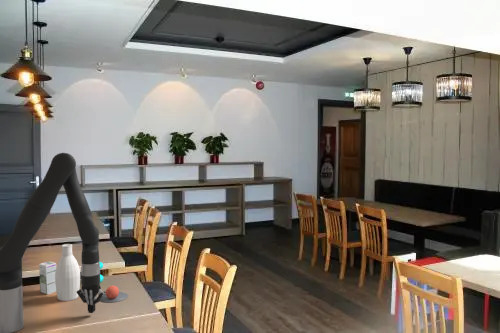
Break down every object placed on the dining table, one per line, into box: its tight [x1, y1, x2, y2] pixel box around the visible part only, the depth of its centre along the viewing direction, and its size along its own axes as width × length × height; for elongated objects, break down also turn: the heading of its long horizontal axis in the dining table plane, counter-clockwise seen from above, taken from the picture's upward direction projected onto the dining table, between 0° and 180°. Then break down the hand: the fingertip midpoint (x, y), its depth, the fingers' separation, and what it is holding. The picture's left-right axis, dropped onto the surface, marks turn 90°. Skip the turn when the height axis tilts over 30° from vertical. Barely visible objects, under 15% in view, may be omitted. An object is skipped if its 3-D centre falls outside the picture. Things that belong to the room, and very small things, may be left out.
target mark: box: [99, 291, 129, 304], centre depth 203 cm, size 13×13×1 cm
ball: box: [105, 285, 120, 299], centre depth 202 cm, size 6×6×6 cm
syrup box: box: [38, 260, 57, 295], centre depth 209 cm, size 6×6×14 cm
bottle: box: [55, 243, 81, 302], centre depth 201 cm, size 11×11×25 cm
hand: (91, 312), depth 182 cm, fingers closed
